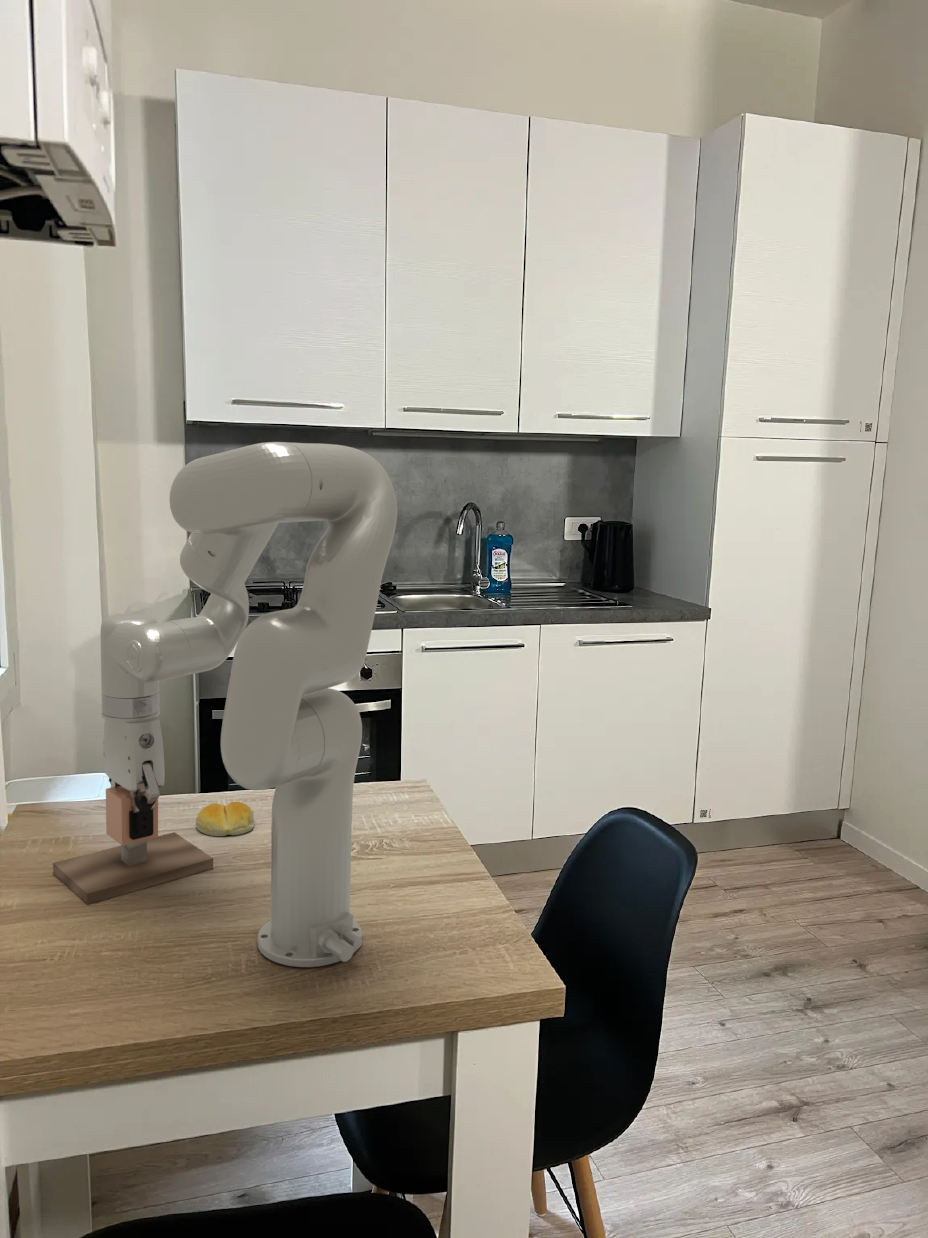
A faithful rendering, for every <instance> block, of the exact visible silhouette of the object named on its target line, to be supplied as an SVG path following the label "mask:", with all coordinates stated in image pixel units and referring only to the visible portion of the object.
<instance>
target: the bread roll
mask: <svg viewBox="0 0 928 1238" xmlns="http://www.w3.org/2000/svg"><path fill="white" fill-rule="evenodd" d="M254 821H255V819H254V810H253V809H252V808H251V807H250V806H249V805H248V804H246V803H244V802H240V801H232V802H230V803H228V804H226V805H224V804H221V803H209V804H208V805H205V806H204V807H203V808H202V809H201V810H199V812H198V814H197V816H196V818H195V826H196V829H197V830H199V832H200V833H202V834H205V835H208V836H211V837H225V836H227V835H230V836H239V835H240V836H241V835H243V834H244V835H245V834H247V833H248V832H250V831H251V830H253V829H254V826H255V822H254Z"/></svg>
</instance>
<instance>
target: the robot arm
mask: <svg viewBox="0 0 928 1238" xmlns="http://www.w3.org/2000/svg"><path fill="white" fill-rule="evenodd" d="M169 507H170V508H169V509H170V511H171V514H172V518H173V519H174V520H175V522H176V523H177V524H178V526H180V528H182V529H184V531H186V532H189V533H190V535H189V536H188V539H186V540H187V541H186V542H185V544H184V546H183V548H182V549H181V552H180V555H179V564H180V567H181V569H182V571H183V573H184V574H185V575H186V577H187V578H188V579H189V580H190V581H191V582H192V583H193V584H194V585H196V586H198V587H199V588H200V589H202V590H204V591H205V592H208V593H210V595H209V597H208V599H207V601H206V603H205V604H204V606H203V608H202V609H201V611H200V613H199V614H198V615H197V616H195V617H194V616H193V617H188V618H187V617H185V618H180V619H173V620H167V621H161V622H158V620H157V619H156V618H155V617H154V616H152V615H148V614H144V613H120V614H119V613H118V614H113V615H109V616H107V617H105V619H103V621H102V622H101V624H100V680H101V681H100V682H101V683H100V685H101V688H100V689H101V718H102V719H103V720H104V724H103V725H104V726H103V727H104V729H103V745H102V746H103V749H102V750H103V752H102V753H103V754H102V755H103V768H104V769H103V770H104V773H105V775H106V776H107V777H108V782H109V783H110V787H109V788H112V787H117V786H122V787H124V788H125V789H127V790H129V791H130V798H131V805H132V811H130V812H129V834H130V838H131V839H132V840H135V839H139V838H143V837H147V836H151V835H153V809H154V808H155V804H154V803H155V802H156V800H157V799H158V800H159V798H160V796H161V795H160V794H161V793H160V790H159V788H161V787H163V786H164V785H165V780H166V778H165V758H164V757H165V755H164V754H165V753H164V741H163V734H162V728H161V723H160V722H161V721H160V718H159V716H160V714H161V712H160V711H161V708H160V707H161V704H160V703H161V702H160V701H161V697H160V695H161V694H160V691H161V690H160V682H163V681H167V680H168V681H169V680H173V679H176V678H180V677H183V676H188V675H195V674H200V673H204V672H208V671H212V670H214V669H215V668H218V667H219V666H221V665H222V664H223V663H224V662H225V661H226V660H227V659H228V658H229V657H230V655H231V654H232V652H233V651H234V653H233V657H232V662H231V667H230V669H231V670H230V675H229V680H228V687H227V693H226V699H225V705H224V710H223V717H222V725H221V730H220V731H221V732H220V754H221V758H222V763H223V765H224V768H225V770H226V772H227V774H228V776H229V777H230V778H231V779H232V780H233V782H234V783H235V784H237V785H238V786H240V787H242V788H244V789H246V790H250V791H251V790H252V791H266V790H269V789H273V788H274V793H273V798H272V804H271V829H270V832H271V833H270V835H271V839H270V845H271V846H270V847H271V848H270V853H271V854H270V860H271V861H270V875H271V876H270V920H268V921H267V922H266V923H264V924H263V925H262V926H261V927H260V929H259V930H258V933H257V947H258V950H259V951H260V953H261V954H262V955H263V956H264V957H265V958H267V959H268V960H270V961H271V962H274V963H276V964H279V965H282V966H288V967H294V968H315V967H317V968H318V967H323V966H330V965H332V964H336V963H339V962H343V963H344V962H345V963H346V962H348V961H350V959H352V957H353V954H354V953H355V952H357V950H358V949H360V947H362V945H363V942H364V940H363V935H362V934H363V931H362V930H363V929H362V927H361V926H360V924H359V923H358V922H357V921H356V920H355V919H354V915H353V914H352V913H351V912H350V911H351V872H352V871H351V870H352V869H351V868H352V861H351V860H352V829H353V828H352V827H353V826H352V824H353V823H352V822H353V800H354V799H353V797H354V784H355V777H356V776H355V775H356V771H357V770H356V769H357V765H358V761H359V757H360V753H361V752H360V751H361V746H362V739H363V723H362V718H361V714H360V712H359V710H358V707H357V705H356V704H355V703H354V701H353V700H352V699H351V698H350V697H349V696H348V695H347V694H345V693H343V692H342V691H339V690H337V689H334V688H332V687H336V686H339V685H342V684H345V683H347V682H350V681H351V680H352V679H354V678H355V677H357V676H358V675H359V673H360V672H361V670H362V668H363V666H364V663H365V661H366V657H367V653H368V650H369V644H370V640H371V639H370V638H371V634H372V629H373V626H374V625H373V624H374V620H375V615H376V610H377V605H378V601H379V595H380V590H381V584H382V580H383V576H384V571H385V569H386V568H385V567H386V564H387V560H388V557H389V554H390V551H391V547H392V544H393V541H394V537H395V533H396V527H397V521H398V502H397V495H396V492H395V487H394V485H393V483H392V480H391V478H390V476H389V474H388V473H387V471H386V469H385V468H384V466H383V465H381V464H380V462H379V461H378V460H376V459H375V457H373V456H372V455H370V454H368V453H367V452H366V451H363V450H360V449H357V448H355V447H352V446H351V447H350V446H348V445H341V444H332V443H311V442H310V443H306V442H305V443H303V442H285V441H268V442H260V443H259V442H257V443H254V444H251V445H246V446H242V447H239V448H238V447H237V448H234V449H231V450H227V451H223V452H218V453H214V454H210V455H206V456H202V457H199V458H196V459H194V460H191V461H190V462H188V463H187V464H185V465H183V467H181V469H180V470H179V471H178V473H177V474H176V476H175V477H174V479H173V482H172V483H171V486H170V490H169ZM316 521H317V522H318V521H326V523H327V525H328V527H327V528H326V530H325V532H324V534H323V535H322V536H321V537H320V539H319V540H318V542H317V544H316V545H315V547H314V549H313V551H312V552H311V553H310V554H311V555H310V556H309V559H308V562H307V564H306V567H305V568H306V569H305V575H304V580H303V586H302V590H301V594H300V598H299V600H298V602H297V604H296V605H295V606H294V607H292V608H288V609H282V610H275V611H271V612H267V613H264V614H261V615H260V616H258V617H257V618H255V619H254V620H253V621H251V622H250V623H249V624H248V621H249V615H250V611H249V610H250V601H249V600H250V599H249V598H250V597H249V594H248V593H249V592H248V591H247V587H246V584H245V583H246V581H247V579H248V577H249V576H250V574H251V573H252V570H253V569H254V567H255V565H256V563H257V562H258V560H259V558H260V557H261V555H262V554H263V551H264V550H265V548H266V546H267V544H268V543H269V541H270V539H271V537H272V536H273V534H274V532H275V531H276V529H277V527H278V525H279V524H280V523H281V524H282V523H286V524H287V523H298V522H300V523H302V522H303V523H304V522H316ZM142 783H144V786H145V787H141V788H137V784H142ZM142 792H146V793H145V795H144V796H142V797H141V798H140V799H139V801H138V796H137V793H142Z"/></svg>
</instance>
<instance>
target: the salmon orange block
mask: <svg viewBox="0 0 928 1238" xmlns="http://www.w3.org/2000/svg"><path fill="white" fill-rule="evenodd" d="M141 787H145V786H144V783H142V784H137V788H141ZM145 793H146V792H142V793H137V796H138V801H139V799H140V798H141V797H142V796H144V795H145ZM154 804H155V808H154V809H153V835H151V836H147V837H143V838H139V839H135V840H132V839H131V838H130V834H129V812H130V811H132V805H131V798H130V791H129V790H127V789H125V788H124V787H122V786H117V787H112V788H110V787H108V788H105V825H106V826H105V827H106V828H105V829H106V830H105V831H106V832H105V833H106V835H107V836H109V837H110V838H112V839H113V840H114V841H115V842H116V843H118V844H119V846H121V845H122V846H124V845H128V844H132V843H136V842H140V841H144V840H148V839H152V838H156V837H158V836H159V798H158V799H157V800H156V802H155V803H154Z"/></svg>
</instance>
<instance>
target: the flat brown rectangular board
mask: <svg viewBox="0 0 928 1238" xmlns="http://www.w3.org/2000/svg"><path fill="white" fill-rule="evenodd" d="M212 869H214V857H212V856H211V855H209V854H208V853H206V852H205V851H203V850H202V849H200V848H198V847H197V846H196V845H194V844H193V843H191V842H190V841H188V840H187V839H185V838H184V837H183V836H181V835H179V834H177V832H170V833H166V834H163V835H158V837H156V838H152V839H148V840H144V841H140V842H136V843H132V844H128V845H124V846H122V845H119V846H114V847H110V848H106V849H103V850H99V851H95V852H91V853H86V854H83V855H79V856H75V857H71V858H67V859H63V860H58V861H55V862H52V873H53V875H54V876H56V877H57V878H58V879H59V880H60V882H62V883H64V885H65V886H67V887H68V888H69V889H70V890H71V891H72V892H73V893H74V894H75V895H76V896H78V897H79V898H80V899H81V901H83V902H84V903H85V904H86V905H90V904H93V903H98V902H100V901H101V902H102V901H104V900H108V899H112V898H115V897H118V896H122V895H125V894H129V893H133V892H135V891H139V890H143V889H145V888H146V889H147V888H150V887H154V886H156V885H160V884H162V883H163V884H164V883H167V882H171V881H174V880H177V879H180V878H181V879H182V878H184V877H189V876H191V875H194V874H199V873H203V872H205V871H209V870H212Z"/></svg>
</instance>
